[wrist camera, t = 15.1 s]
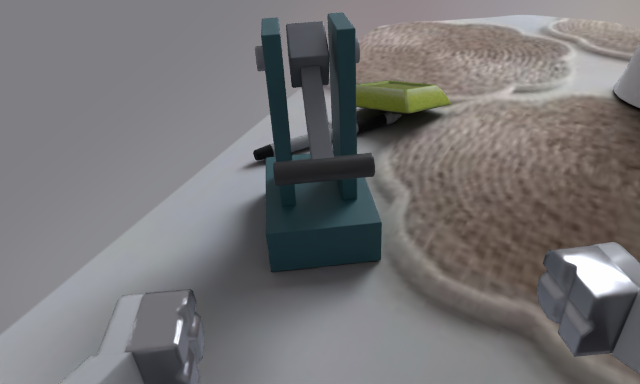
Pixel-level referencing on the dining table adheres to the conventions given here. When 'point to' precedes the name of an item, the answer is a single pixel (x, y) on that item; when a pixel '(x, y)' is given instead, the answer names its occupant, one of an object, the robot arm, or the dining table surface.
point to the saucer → (400, 96)
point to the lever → (316, 113)
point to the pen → (304, 142)
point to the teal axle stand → (318, 197)
